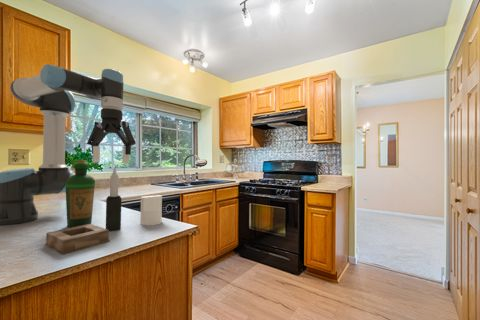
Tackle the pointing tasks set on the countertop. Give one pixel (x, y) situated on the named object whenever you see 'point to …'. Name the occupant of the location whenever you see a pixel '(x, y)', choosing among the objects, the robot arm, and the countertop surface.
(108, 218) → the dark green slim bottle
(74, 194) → the bottle
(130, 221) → the countertop surface
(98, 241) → the walnut holder
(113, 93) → the robot arm
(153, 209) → the white upright cylinder
